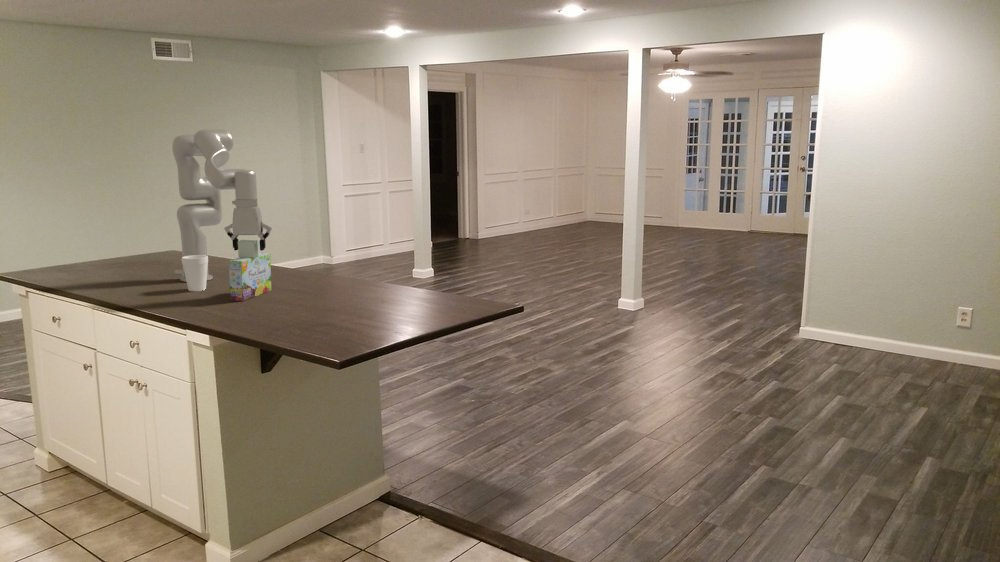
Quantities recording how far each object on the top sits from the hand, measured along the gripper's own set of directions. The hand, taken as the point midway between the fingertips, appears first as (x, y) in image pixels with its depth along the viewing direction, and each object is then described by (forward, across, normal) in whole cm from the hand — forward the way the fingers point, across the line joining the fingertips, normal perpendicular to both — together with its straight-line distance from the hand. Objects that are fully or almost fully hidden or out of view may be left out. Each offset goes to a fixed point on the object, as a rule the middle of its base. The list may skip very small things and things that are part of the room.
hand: (249, 250), depth 277 cm
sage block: (+2, 0, 0) cm, 2 cm away
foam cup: (+18, -25, +10) cm, 32 cm away
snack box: (+18, 0, 0) cm, 18 cm away
